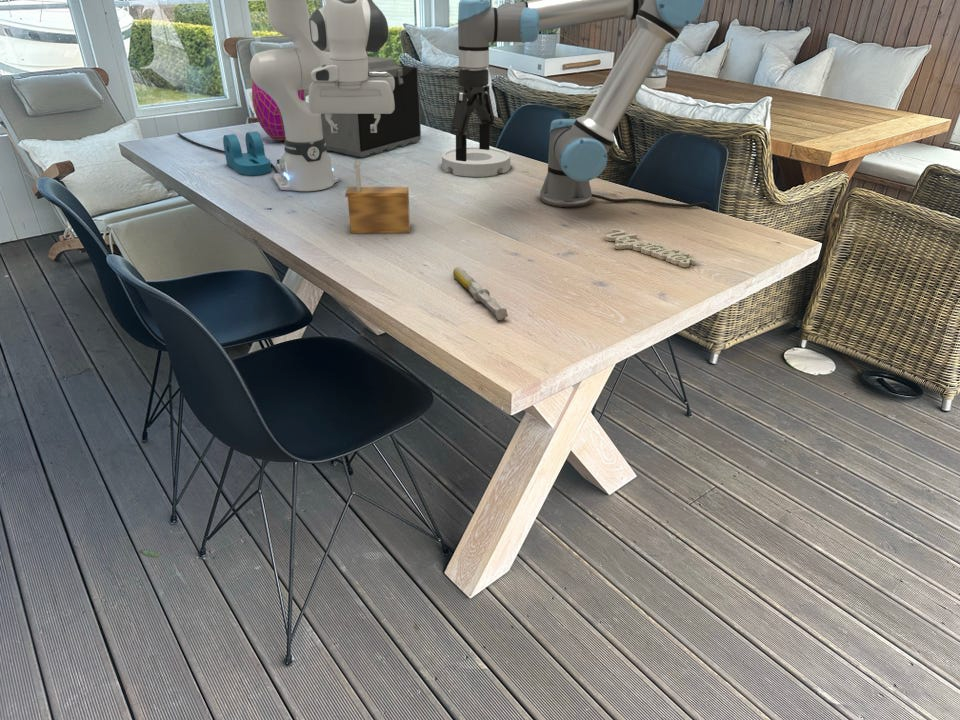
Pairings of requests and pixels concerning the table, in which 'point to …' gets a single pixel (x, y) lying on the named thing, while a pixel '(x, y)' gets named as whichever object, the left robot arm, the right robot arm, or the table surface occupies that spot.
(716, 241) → the table surface
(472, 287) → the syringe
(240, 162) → the camera mount
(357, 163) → the lid
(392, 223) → the chest
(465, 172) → the ashtray
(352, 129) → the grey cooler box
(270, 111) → the decorative egg
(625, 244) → the decorative sign
